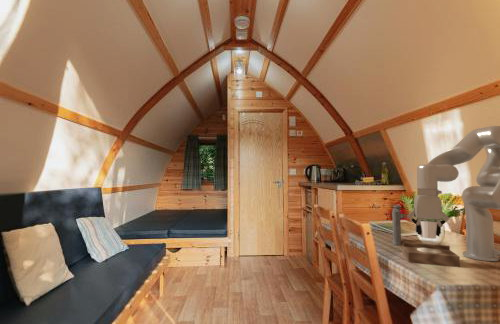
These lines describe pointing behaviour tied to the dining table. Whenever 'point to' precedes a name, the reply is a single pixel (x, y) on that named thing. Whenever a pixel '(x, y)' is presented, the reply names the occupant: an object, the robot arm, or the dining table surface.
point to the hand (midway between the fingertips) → (428, 234)
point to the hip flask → (396, 225)
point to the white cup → (428, 229)
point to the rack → (430, 254)
